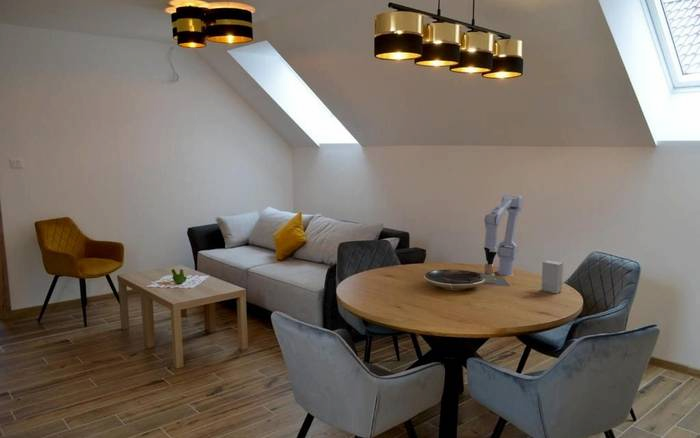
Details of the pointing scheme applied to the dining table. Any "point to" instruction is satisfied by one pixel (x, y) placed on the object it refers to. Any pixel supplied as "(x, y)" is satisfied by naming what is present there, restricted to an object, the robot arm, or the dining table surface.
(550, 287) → the skincare box
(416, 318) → the dining table surface
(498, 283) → the charcoal mat
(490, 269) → the rounded pink dome
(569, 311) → the dining table surface
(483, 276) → the sage slab
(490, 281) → the birch slab
